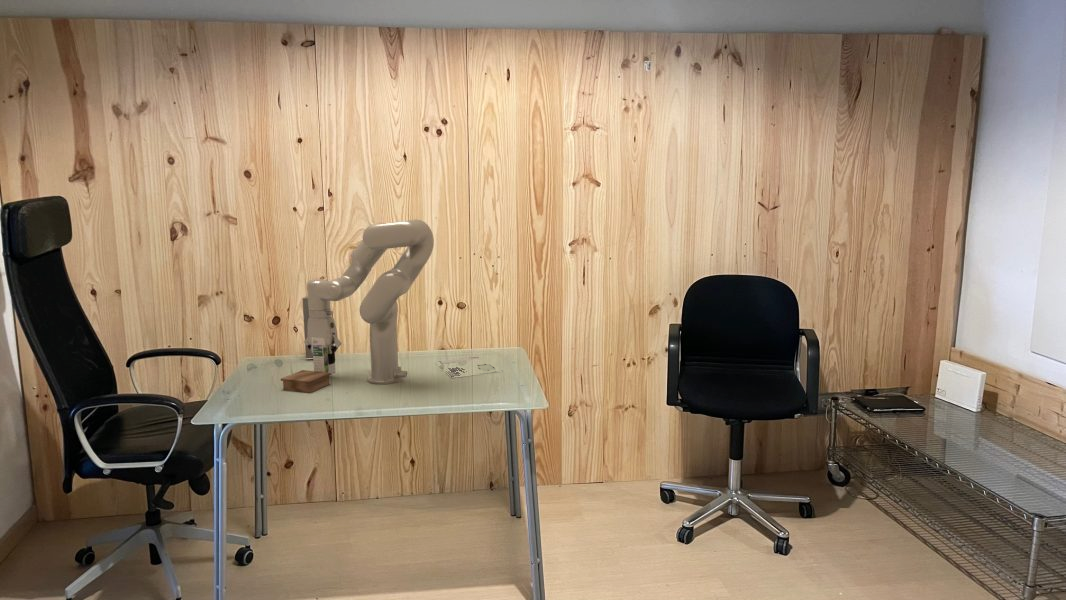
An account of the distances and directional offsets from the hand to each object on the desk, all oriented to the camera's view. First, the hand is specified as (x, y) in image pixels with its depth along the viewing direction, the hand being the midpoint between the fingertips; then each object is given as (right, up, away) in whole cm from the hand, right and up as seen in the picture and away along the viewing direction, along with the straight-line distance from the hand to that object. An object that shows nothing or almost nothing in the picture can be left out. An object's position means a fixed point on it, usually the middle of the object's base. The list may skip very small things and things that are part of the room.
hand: (324, 362), depth 279 cm
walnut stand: (-3, -8, -11) cm, 13 cm away
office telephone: (+51, -4, +13) cm, 53 cm away
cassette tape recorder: (-12, 0, +34) cm, 36 cm away
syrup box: (0, -5, +1) cm, 5 cm away
